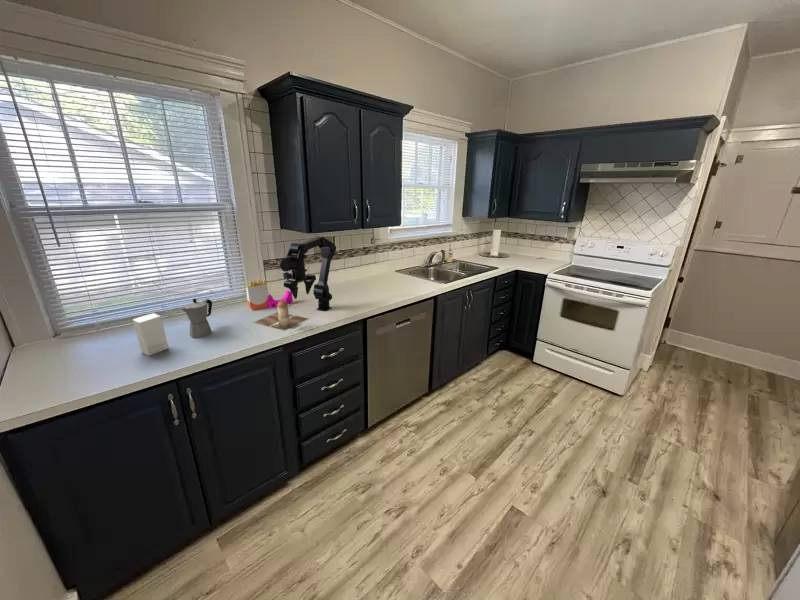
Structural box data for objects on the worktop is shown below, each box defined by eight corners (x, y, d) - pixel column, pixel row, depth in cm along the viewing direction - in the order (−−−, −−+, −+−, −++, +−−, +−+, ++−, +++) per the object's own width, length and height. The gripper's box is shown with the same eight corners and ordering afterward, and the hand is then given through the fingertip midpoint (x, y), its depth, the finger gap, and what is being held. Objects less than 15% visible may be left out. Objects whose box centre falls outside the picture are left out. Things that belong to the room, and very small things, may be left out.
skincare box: (162, 345, 145) (154, 312, 140) (169, 348, 142) (162, 315, 137) (140, 352, 138) (131, 318, 133) (148, 356, 135) (139, 322, 130)
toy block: (270, 309, 190) (269, 297, 188) (266, 307, 194) (264, 295, 192) (294, 304, 200) (293, 292, 197) (290, 301, 204) (289, 290, 202)
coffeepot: (196, 341, 149) (189, 304, 144) (181, 338, 152) (173, 302, 146) (223, 328, 163) (217, 294, 158) (208, 326, 166) (202, 292, 160)
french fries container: (248, 310, 189) (243, 280, 183) (267, 306, 196) (263, 277, 190) (251, 312, 185) (246, 282, 179) (270, 307, 192) (266, 278, 186)
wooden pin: (281, 324, 167) (278, 299, 163) (291, 324, 167) (288, 299, 163) (277, 328, 163) (275, 302, 158) (287, 328, 163) (285, 302, 158)
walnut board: (278, 313, 185) (278, 311, 184) (309, 320, 176) (309, 318, 175) (252, 324, 169) (252, 322, 169) (284, 332, 160) (284, 330, 160)
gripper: (299, 262, 180) (301, 289, 184) (273, 269, 163) (277, 298, 168) (315, 264, 175) (317, 292, 180) (290, 272, 159) (293, 302, 164)
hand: (301, 296), depth 173 cm, fingers open, 9 cm apart
